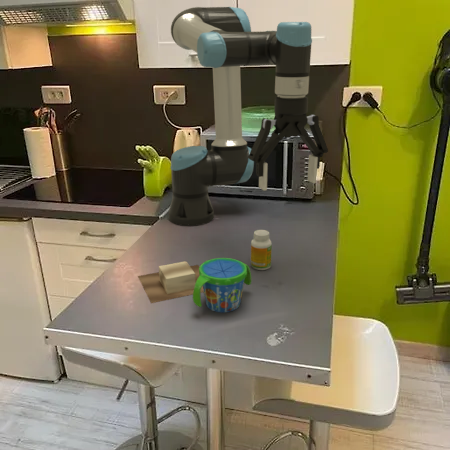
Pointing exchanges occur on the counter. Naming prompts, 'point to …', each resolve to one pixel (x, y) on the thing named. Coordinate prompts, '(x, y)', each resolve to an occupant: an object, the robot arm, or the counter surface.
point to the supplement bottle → (261, 250)
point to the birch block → (177, 277)
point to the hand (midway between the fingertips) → (287, 185)
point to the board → (157, 290)
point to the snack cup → (221, 283)
